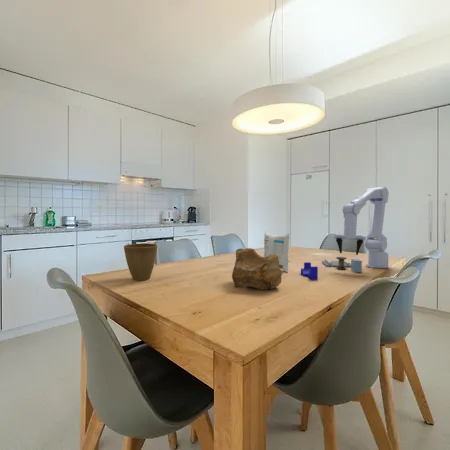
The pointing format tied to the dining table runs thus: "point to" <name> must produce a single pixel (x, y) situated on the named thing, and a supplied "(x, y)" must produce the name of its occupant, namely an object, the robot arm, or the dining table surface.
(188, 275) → the dining table surface
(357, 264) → the blue-grey block
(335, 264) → the grey railed square plate
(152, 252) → the plant pot
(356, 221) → the robot arm
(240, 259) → the rough brown rock
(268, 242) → the pouch
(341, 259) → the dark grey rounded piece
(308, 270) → the cable clip
